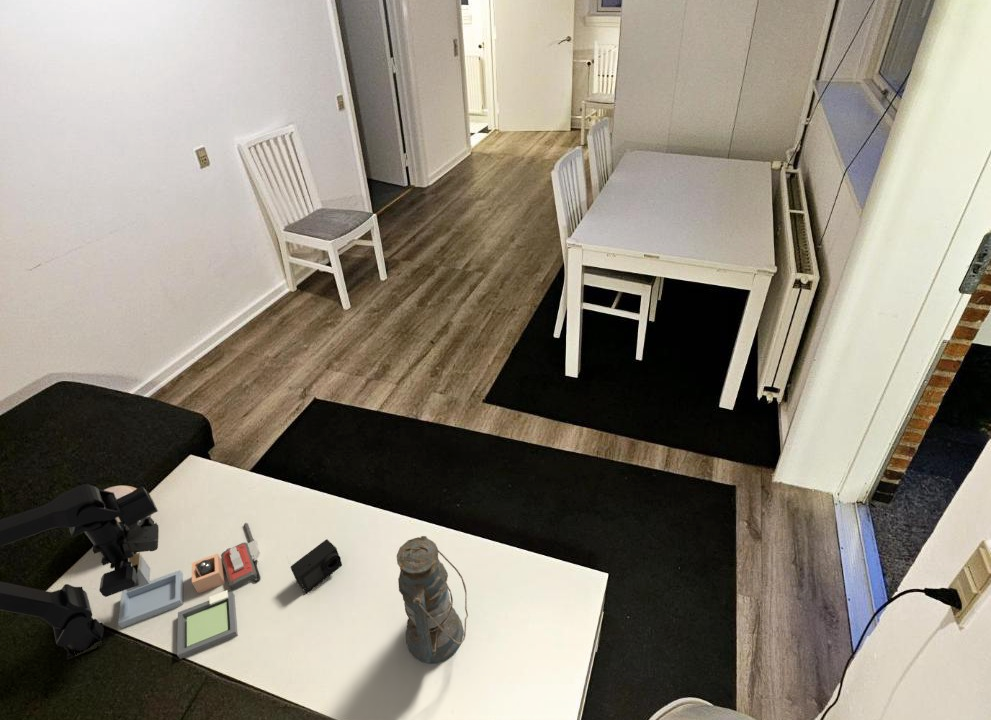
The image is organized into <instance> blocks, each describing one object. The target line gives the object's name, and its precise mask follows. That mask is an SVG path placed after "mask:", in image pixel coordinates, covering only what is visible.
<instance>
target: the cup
mask: <svg viewBox="0 0 991 720" xmlns="http://www.w3.org/2000/svg"><path fill="white" fill-rule="evenodd" d="M203 560H208V561H209V562H210V564H211V565H212V567H213V569H214V571H215V572H212V573H209V574H207V575H204V576H202V575H201V574H200V572H199V570H198V568H197V566H198V564H199V563H200V562H201V561H203ZM225 581H226V580H225V568H224V566H223V562H222V559H221V556H220V555H219V554H218V553H215V554H212V555H210V556H207V557H204V558H202V559H199V560H196V561H194V562H192V563H191V584H192V586H193V587H194V589H195V590H196V592H197V593H198V594H201V593H204V592H207V591H210V590H212V589H214V588H217V587H220V586H222V585H225V584H226V582H225Z"/></svg>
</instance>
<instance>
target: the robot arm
mask: <svg viewBox="0 0 991 720" xmlns="http://www.w3.org/2000/svg"><path fill="white" fill-rule="evenodd" d="M136 488H137V489H136V490H134V491H133V492H131V493H129V494H127V495H125V496H123V497H120V498H118V499H116V497H115V494H114V493H113V492H109V491H104V490H105V489H101V488H98V487H96V486H94V485H90V484H88V483H86V484H80V485H76V486H75V487H73V488H71V489H68V490H66V491H64V492H61V493H60V494H58V495H57V496H56V497H55V498H53V499H52V500H51V501H49V502H48V503H45V504H43V505H39V506H37V507H35V508H34V507H33V508H31V509H28V510H25V511H22V512H19V513H16V514H12V515H10V516H7V517H3V518H0V547H4V546H6V545H8V544H11V543H15V542H17V541H20V540H22V539H27V538H29V537H31V536H34V535H37V534H41V533H43V532H45V531H48V530H52V529H56V528H69V532H70V535H71V537H73V538H74V537H76V536H79V535H81V534H83V533H84V534H85V536H87V538H88V540H90V542H91V543H92V544H93V545H92V551H91V552H93V554H97V553H98V554H100V556H101V560H100V561H101V562H100V563H101V564H102V565H103V566H106V565H108V564H110V566H109V568H110V569H114V570H111V571H110V570H109V571H107V572H106V573H103V575H102V576H101V577H100V583H99V589H98V590H99V593H100V594H101V595H102V596H103V597H105V598H106V597H110V596H112V595H115V594H118V593H122V591H124V590H126V589H129V588H132V587H136V586H138V585H139V583H138V580H137V578H136V576H137V571H138V564H137V565H134V566H132V563H131V562H129V558H131V557H134V554H137V553H142V552H145V553H146V552H155V551H157V550H158V549H159V539H160V538H159V537H160V536H159V535H160V534H159V532H160V531H159V528H160V527H159V524H158V523H157V522H155V520H154V519H153V518H152V515H154V514H155V513H157V512H159V511H158V508H157V506H156V504H155V501H154V499H153V498H152V496H151V494H150V493H149V491H147V490H146V489H145V487H144V486H140V487H136ZM150 515H151V517H148V516H150ZM117 517H119V519H120V521H121V522H118V521H117V520H116V518H117ZM140 520H141V521H140ZM139 521H140V522H139ZM0 611H4V612H9V613H15V614H21V615H25V616H26V615H27V616H32V617H37V618H40V619H42V620H43V621H45V622H46V623H47V624H48V625H50V626H51V627H52V629H53V633H54V638H55V644H56V645H57V646H59V647H62V648H64V649H65V650H66V651H67V655H66V659H67V660H68V659H70V660H72V659H71V658H73V657H75V654H76V655H77V653H80V652H83V651H84V650H86V649H88V648H90V647H91V646H92V645H94V643H96V642H98V641H100V639H103V638H104V631H105V628H104V622H99V620H98V619H97V618H93V612H92V608H91V605H90V600H89V595H88V593H87V592H86V591H85V590H84V587H83V586H73V585H71V584H67V583H66V584H64V585H63V586H62V588H61V589H58V590H53V591H47V590H42V589H38V588H32V587H28V586H25V585H24V586H23V585H19V584H13V583H9V582H5V581H0ZM99 645H100V644H99ZM74 652H75V653H74ZM69 656H70V657H69ZM75 658H76V657H75ZM73 659H74V658H73Z"/></svg>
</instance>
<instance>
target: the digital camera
mask: <svg viewBox="0 0 991 720" xmlns="http://www.w3.org/2000/svg"><path fill="white" fill-rule="evenodd" d="M341 559H342V557H341V556H340V555H339V551H338V548H337V547H336V546H335V545H334V544H333V543H332V542H331V541H330V540H328V538H327V539H325V540H324V541H322V542H320V543H319V544H318V545H317V546H316V547H314V548H313V549H311V550H310V551H309V552H307V553H306V554H305V555H304V556H302V557H301V558H299V559H298V560H297V561H295V562H294V563H293V564H292V565H290V570H291V572H292V575H293V576H294V578H295V580H296V583H297V584H298V585H299V586H300V587H301V589H302V590H303V591H304V592H305V593H306V594H308V593H309V592H311V591H312V590H313V589H315V588H316V587H317V586H318V585H320V584H321V583H322V582H324V581H325V580H326V579H327V578H328V577H330V576H331V575H332V574H333V573H335V572H336V571H337V570H338V569H339V568H341V567H342V566H343V564H342V561H341Z"/></svg>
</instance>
